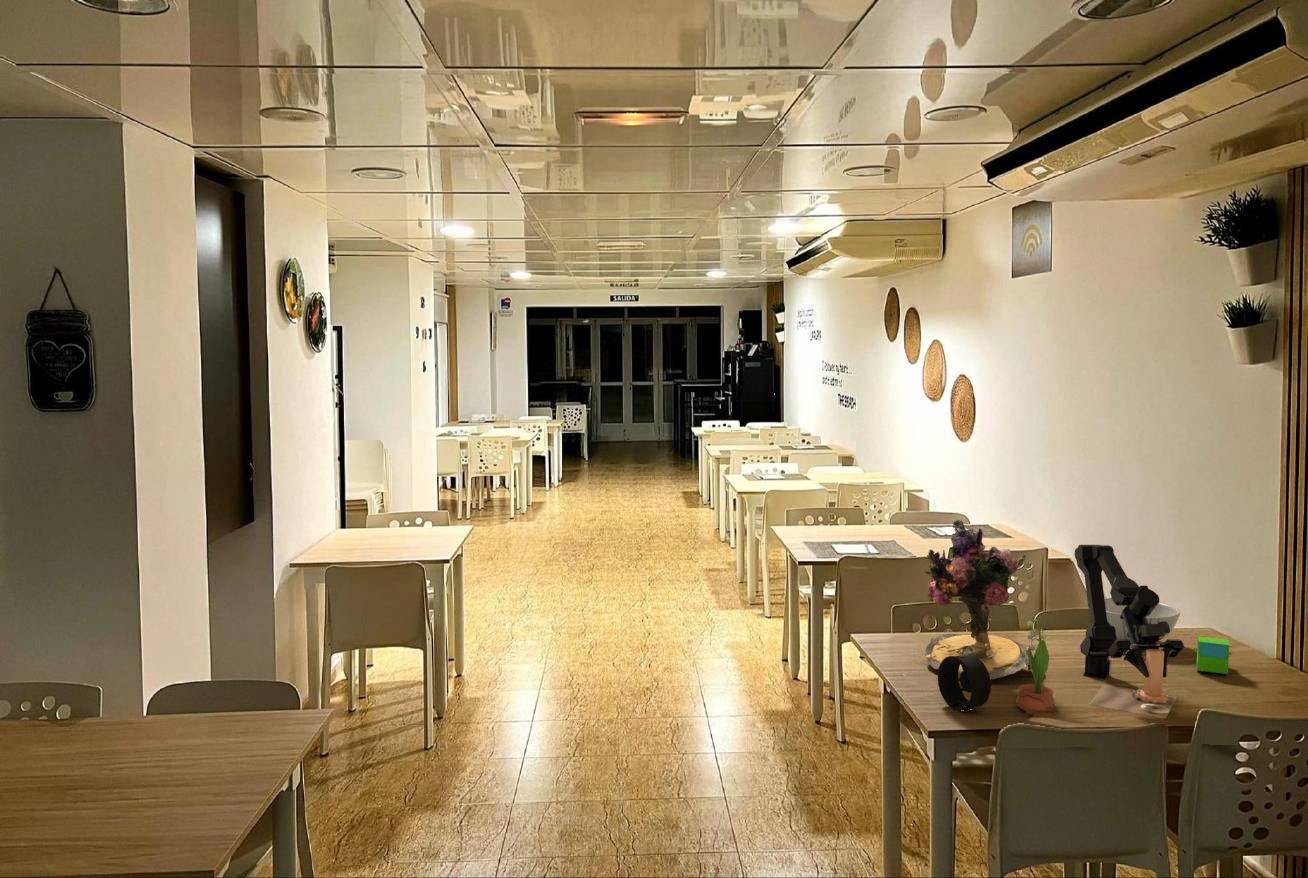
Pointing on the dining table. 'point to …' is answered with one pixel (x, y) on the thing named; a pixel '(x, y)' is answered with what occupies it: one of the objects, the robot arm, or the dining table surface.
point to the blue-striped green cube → (1213, 655)
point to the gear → (1140, 698)
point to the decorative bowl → (1157, 615)
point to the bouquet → (974, 602)
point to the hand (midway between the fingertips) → (1156, 676)
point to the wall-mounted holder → (964, 682)
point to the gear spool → (1153, 677)
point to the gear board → (1130, 702)
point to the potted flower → (1036, 676)
